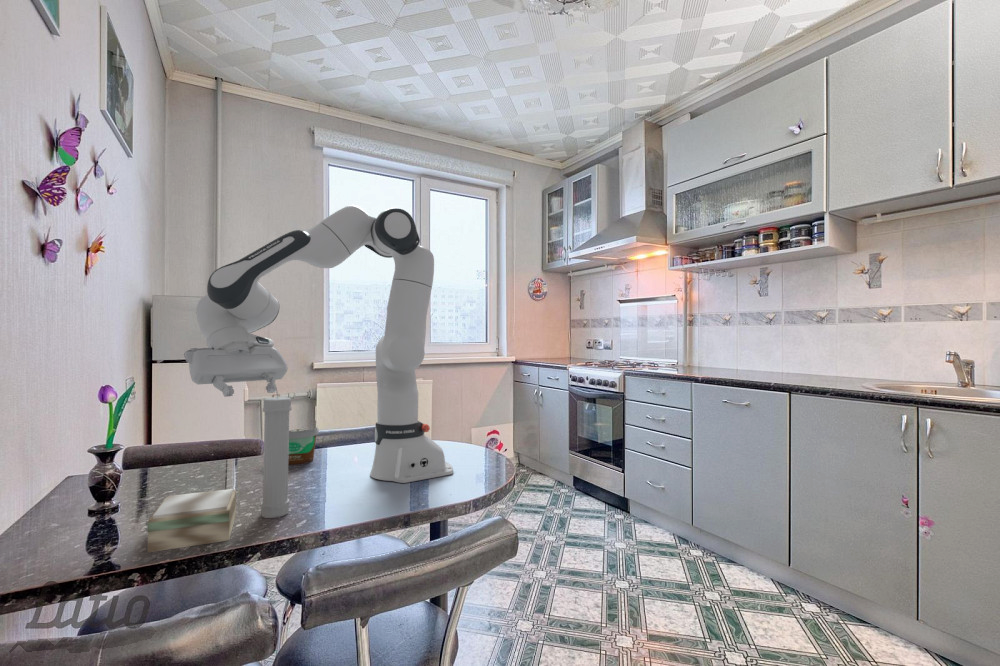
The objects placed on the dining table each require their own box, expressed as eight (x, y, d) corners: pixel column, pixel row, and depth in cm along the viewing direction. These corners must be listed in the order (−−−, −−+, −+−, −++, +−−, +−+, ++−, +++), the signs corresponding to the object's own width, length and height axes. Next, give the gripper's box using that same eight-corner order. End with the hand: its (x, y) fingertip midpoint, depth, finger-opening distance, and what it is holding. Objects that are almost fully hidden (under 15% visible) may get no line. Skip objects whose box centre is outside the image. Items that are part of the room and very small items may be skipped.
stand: (235, 517, 94) (236, 487, 94) (228, 541, 83) (229, 507, 83) (164, 526, 89) (165, 495, 89) (146, 553, 78) (147, 517, 78)
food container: (272, 468, 130) (273, 432, 130) (273, 462, 135) (274, 428, 136) (319, 463, 135) (319, 430, 135) (318, 458, 140) (319, 426, 141)
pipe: (277, 520, 92) (280, 372, 93) (250, 517, 94) (254, 371, 94) (295, 510, 98) (298, 370, 98) (269, 507, 99) (272, 369, 100)
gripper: (186, 338, 98) (205, 387, 93) (278, 339, 115) (299, 380, 109) (177, 358, 101) (195, 407, 95) (268, 356, 118) (289, 397, 112)
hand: (251, 392), depth 102 cm, fingers open, 8 cm apart
